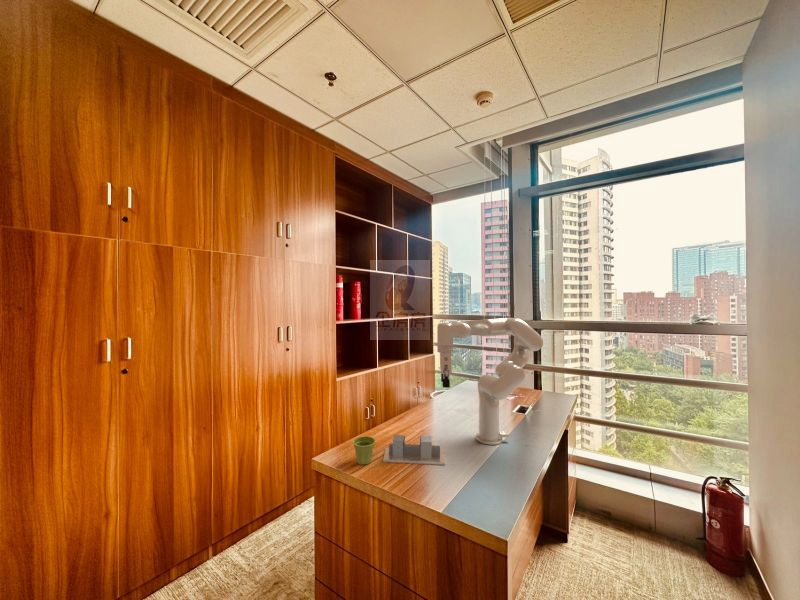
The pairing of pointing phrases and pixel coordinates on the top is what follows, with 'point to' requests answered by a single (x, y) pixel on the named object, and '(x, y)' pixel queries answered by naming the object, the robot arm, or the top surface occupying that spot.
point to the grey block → (425, 447)
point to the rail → (411, 453)
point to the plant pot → (364, 449)
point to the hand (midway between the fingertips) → (445, 384)
